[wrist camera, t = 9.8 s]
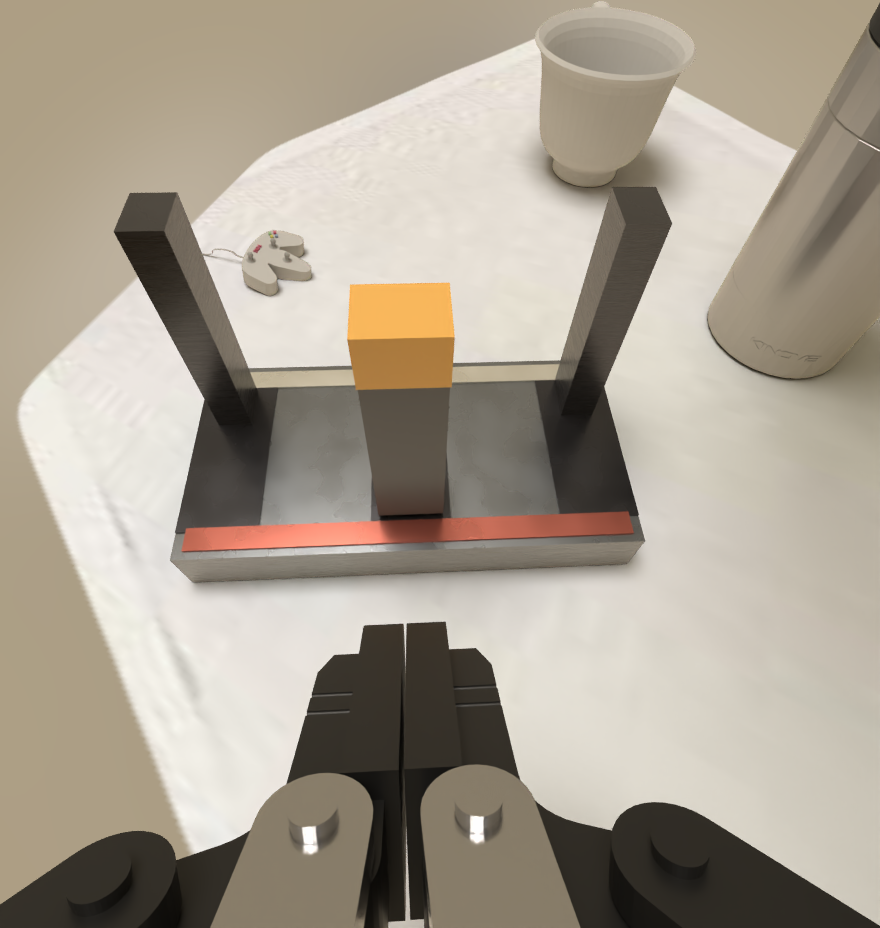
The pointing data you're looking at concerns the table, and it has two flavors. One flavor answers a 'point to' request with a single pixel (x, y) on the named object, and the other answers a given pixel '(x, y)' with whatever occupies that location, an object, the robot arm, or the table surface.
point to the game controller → (274, 261)
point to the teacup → (605, 87)
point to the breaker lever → (404, 389)
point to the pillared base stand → (344, 443)
